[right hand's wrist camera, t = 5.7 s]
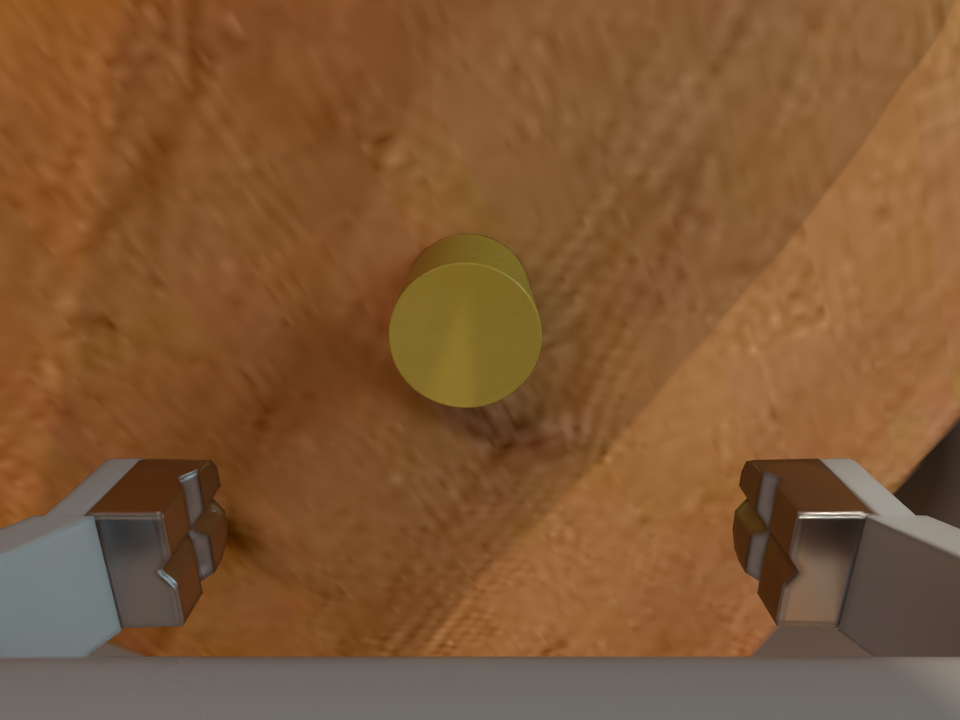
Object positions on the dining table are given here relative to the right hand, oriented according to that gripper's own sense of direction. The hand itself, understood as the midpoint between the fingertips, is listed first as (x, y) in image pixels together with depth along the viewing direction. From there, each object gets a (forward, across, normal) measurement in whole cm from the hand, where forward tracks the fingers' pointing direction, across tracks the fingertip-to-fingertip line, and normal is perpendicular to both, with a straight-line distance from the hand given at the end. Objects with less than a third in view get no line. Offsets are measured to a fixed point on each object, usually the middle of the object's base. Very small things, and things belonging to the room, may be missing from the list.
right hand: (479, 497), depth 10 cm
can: (+11, 0, 0) cm, 11 cm away
